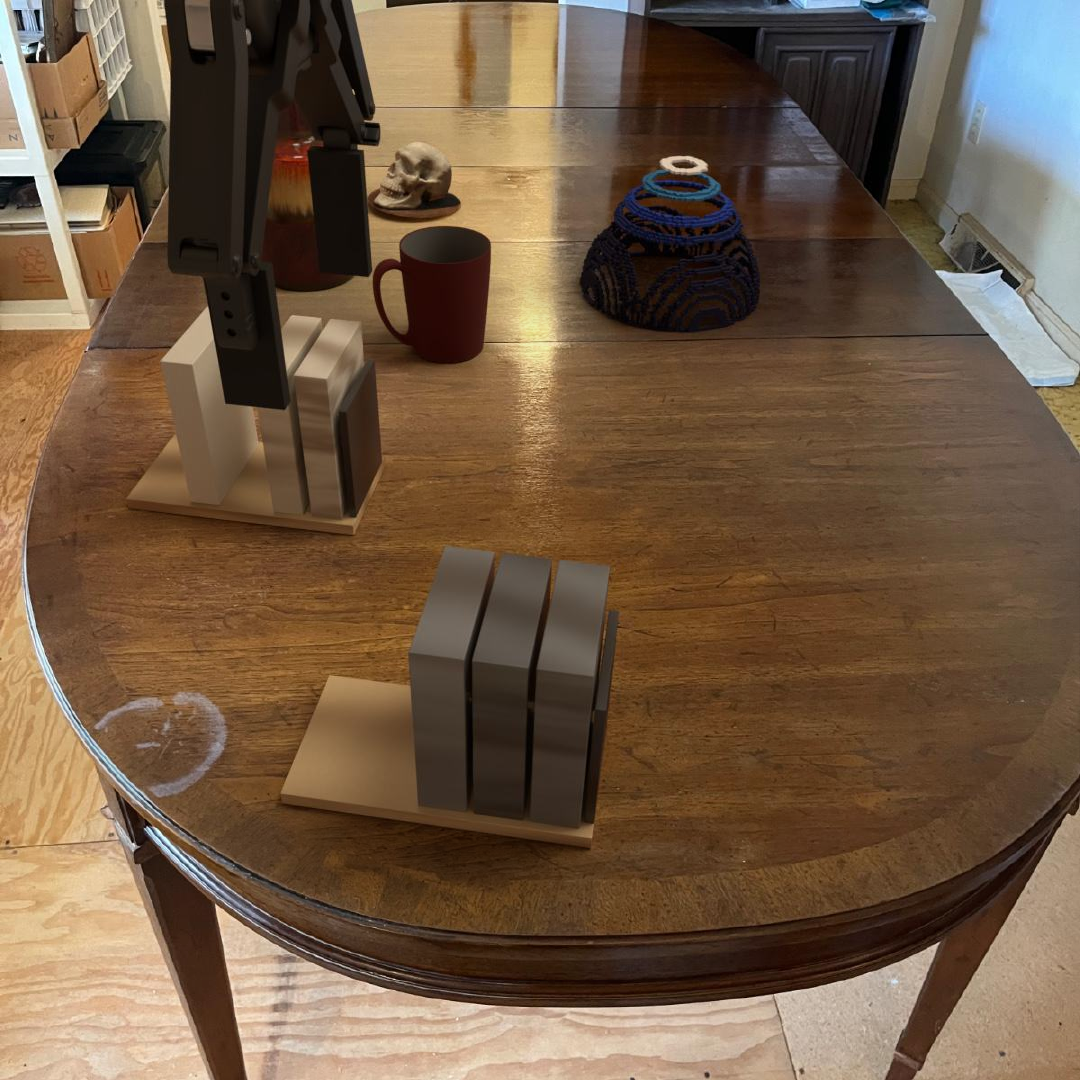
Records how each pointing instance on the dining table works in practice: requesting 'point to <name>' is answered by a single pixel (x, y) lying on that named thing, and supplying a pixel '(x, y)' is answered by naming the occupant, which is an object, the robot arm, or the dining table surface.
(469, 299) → the mug
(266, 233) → the vase
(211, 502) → the white book
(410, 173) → the skull
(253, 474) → the beige stand
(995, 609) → the dining table surface
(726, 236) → the decorative bowl
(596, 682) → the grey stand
